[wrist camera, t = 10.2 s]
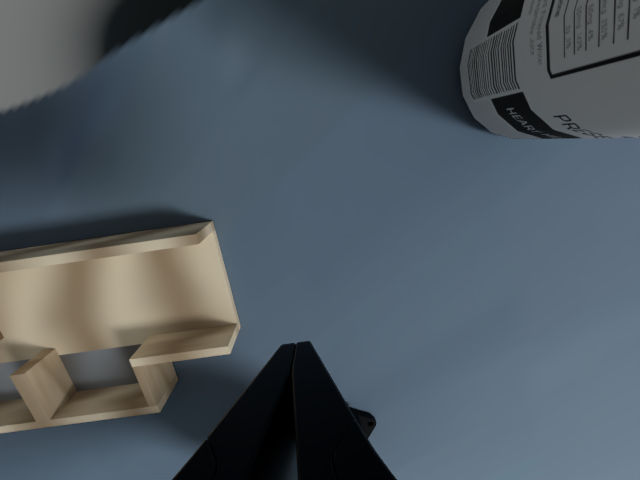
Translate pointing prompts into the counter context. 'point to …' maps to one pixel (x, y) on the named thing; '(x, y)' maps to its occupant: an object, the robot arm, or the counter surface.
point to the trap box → (108, 323)
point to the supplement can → (554, 68)
